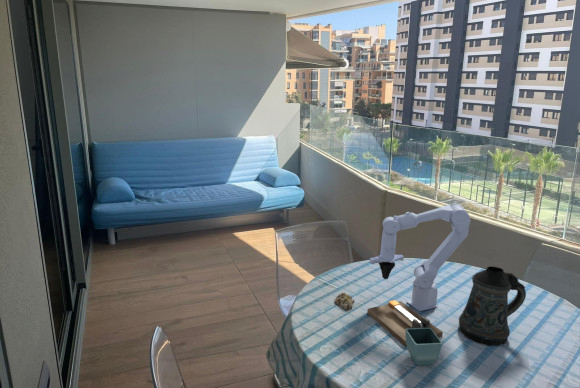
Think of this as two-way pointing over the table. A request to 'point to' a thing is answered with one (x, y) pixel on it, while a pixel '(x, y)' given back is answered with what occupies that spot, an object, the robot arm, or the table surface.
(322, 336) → the table surface
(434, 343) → the flower pot
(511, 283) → the beer stein
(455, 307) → the table surface
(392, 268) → the robot arm
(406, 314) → the press lever
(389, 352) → the table surface
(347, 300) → the mineral rock
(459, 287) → the table surface
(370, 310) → the base
